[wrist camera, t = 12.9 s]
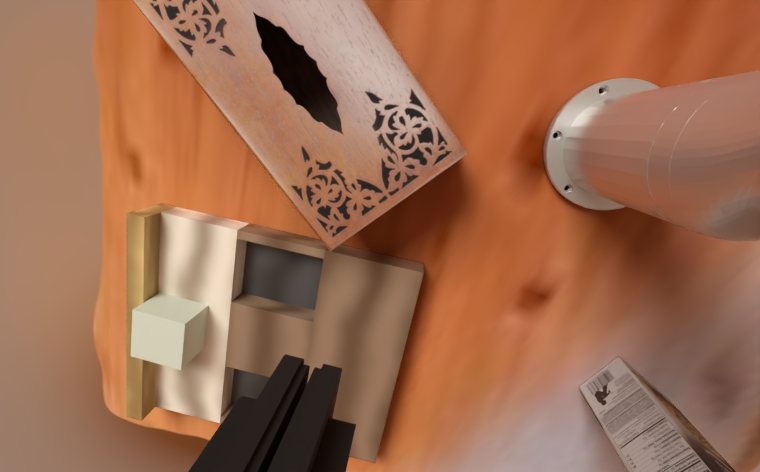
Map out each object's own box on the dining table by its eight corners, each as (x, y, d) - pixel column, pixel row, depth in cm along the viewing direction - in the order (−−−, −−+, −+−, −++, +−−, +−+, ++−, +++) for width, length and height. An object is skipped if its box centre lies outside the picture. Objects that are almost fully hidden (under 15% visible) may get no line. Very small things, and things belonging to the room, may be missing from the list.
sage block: (208, 305, 44) (185, 324, 40) (203, 347, 46) (181, 370, 41) (160, 292, 44) (132, 309, 40) (157, 335, 46) (130, 356, 42)
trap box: (423, 263, 43) (423, 282, 38) (377, 444, 51) (372, 480, 45) (161, 203, 44) (126, 213, 39) (156, 387, 52) (126, 416, 47)
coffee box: (672, 400, 44) (807, 545, 29) (628, 431, 46) (732, 583, 30) (618, 353, 43) (727, 477, 28) (575, 387, 45) (655, 521, 30)
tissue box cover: (456, 148, 39) (467, 153, 30) (350, 224, 43) (330, 251, 33) (304, -76, 35) (259, -153, 26) (201, 29, 39) (128, -5, 29)
